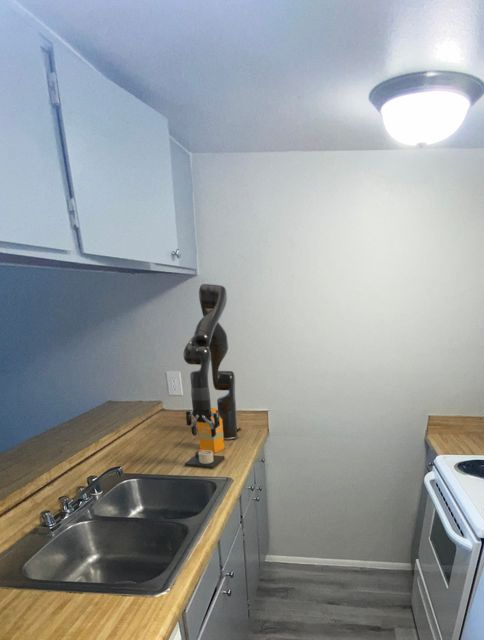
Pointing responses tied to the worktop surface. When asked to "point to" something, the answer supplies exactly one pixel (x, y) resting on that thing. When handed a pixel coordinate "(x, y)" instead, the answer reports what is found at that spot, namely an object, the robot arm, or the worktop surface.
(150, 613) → the worktop surface
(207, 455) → the bowl
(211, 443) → the orange juice
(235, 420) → the robot arm
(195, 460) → the scale
